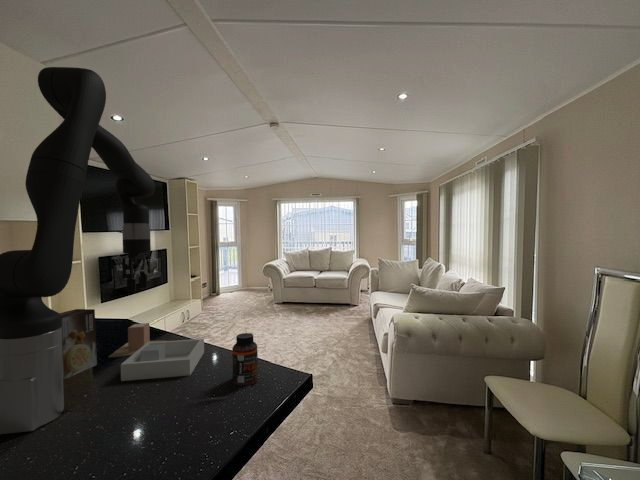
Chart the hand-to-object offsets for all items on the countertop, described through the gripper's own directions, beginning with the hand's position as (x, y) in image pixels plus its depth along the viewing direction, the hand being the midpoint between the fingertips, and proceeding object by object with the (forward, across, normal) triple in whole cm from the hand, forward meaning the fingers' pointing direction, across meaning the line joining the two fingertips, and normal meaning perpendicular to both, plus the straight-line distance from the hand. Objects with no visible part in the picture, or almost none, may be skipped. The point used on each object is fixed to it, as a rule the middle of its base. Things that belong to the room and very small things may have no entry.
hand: (137, 289), depth 96 cm
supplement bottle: (+20, -28, -35) cm, 49 cm away
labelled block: (+18, 0, 0) cm, 18 cm away
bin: (+19, -15, -13) cm, 28 cm away
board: (+19, 0, 0) cm, 19 cm away
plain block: (+19, -15, -10) cm, 26 cm away
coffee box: (+20, -14, +11) cm, 26 cm away
